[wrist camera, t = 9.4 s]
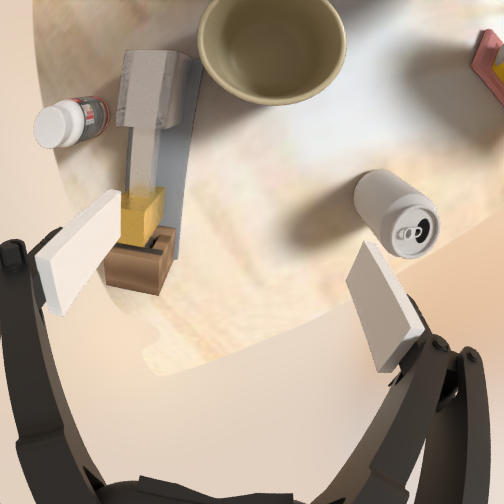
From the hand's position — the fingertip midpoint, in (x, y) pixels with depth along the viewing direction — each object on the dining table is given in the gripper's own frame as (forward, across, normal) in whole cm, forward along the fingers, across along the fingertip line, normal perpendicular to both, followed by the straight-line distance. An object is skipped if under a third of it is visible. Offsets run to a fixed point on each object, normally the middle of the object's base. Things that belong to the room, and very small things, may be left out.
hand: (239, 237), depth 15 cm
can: (+23, +18, -2) cm, 29 cm away
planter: (+23, -1, +12) cm, 26 cm away
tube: (+20, -11, -4) cm, 23 cm away
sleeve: (+22, -12, +6) cm, 26 cm away
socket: (+22, -11, -15) cm, 29 cm away
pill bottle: (+22, -21, +2) cm, 31 cm away
